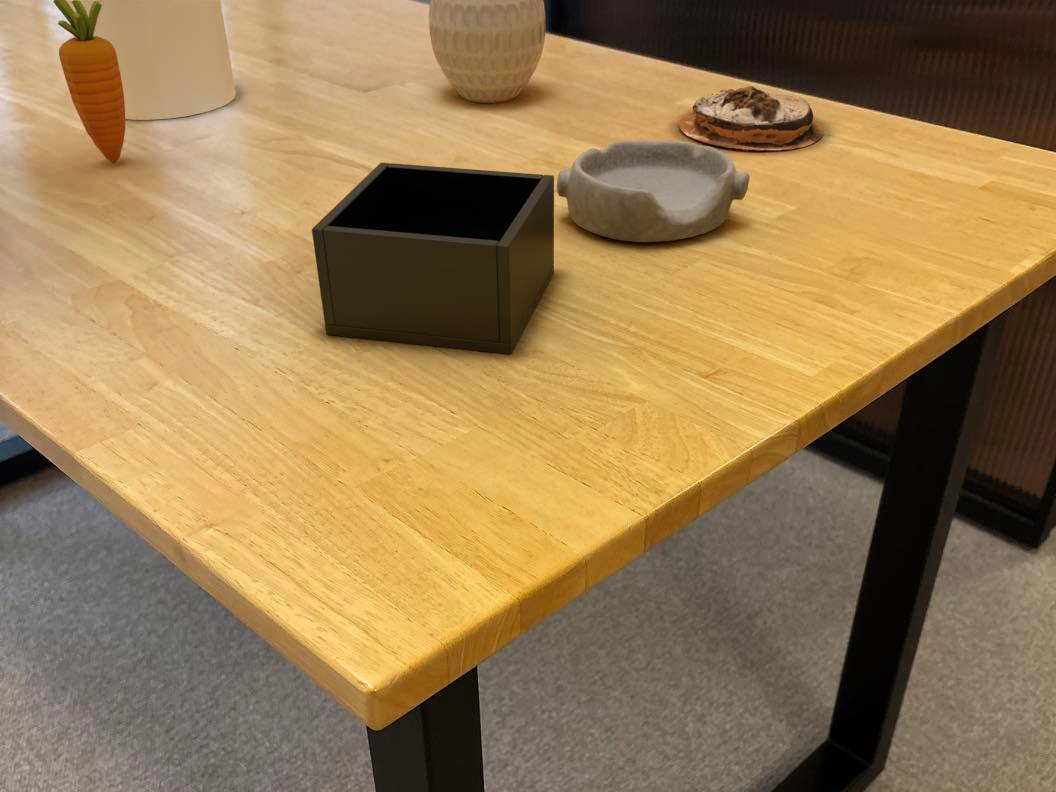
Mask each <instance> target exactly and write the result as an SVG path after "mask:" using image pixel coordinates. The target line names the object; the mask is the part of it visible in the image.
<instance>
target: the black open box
mask: <svg viewBox="0 0 1056 792" xmlns="http://www.w3.org/2000/svg"><path fill="white" fill-rule="evenodd" d="M311 233H312V242H313V249H314V256H315V262H316V271H317V277H318V285H319V291H320V292H319V293H320V299H321V300H320V301H321V306H322V314H323V319H324V320H323V321H324V328H325V330H324V331H325V335H326V336H327V335H328V336H334V337H335V336H336V337H344V338H345V337H346V338H355V339H356V338H357V339H364V340H365V339H366V340H375V341H384V342H392V343H393V342H394V343H401V344H402V343H403V344H410V345H420V346H431V347H441V348H447V349H448V348H449V349H457V350H468V351H477V352H487V353H495V354H504V355H505V354H506V355H512V353H513V351H514V349H515V347H516V346H517V344H518V341H520V338H521V337H522V334H523V332H524V331H525V329H526V327H527V325H528V323H529V322H530V320H531V317H532V316H533V314H534V312H535V311H536V308H537V306H538V304H539V303H540V301H541V298H542V297H543V295H544V293H545V292H546V289H547V287H548V286H549V284H550V282H551V280H552V279H553V277H554V275H555V175H552V174H541V173H540V174H539V173H527V172H514V171H513V172H512V171H498V170H486V169H471V168H460V167H445V166H434V165H432V166H431V165H420V164H408V163H407V164H406V163H390V162H380V163H378V164H377V166H376V167H374V168H373V170H371V171H370V172H369V173H368V174H367V175H366V176H365V177H364V178H363V179H362V180H361V181H360V182H359V183H358V184H356V186H354V188H353V189H352V190H350V191H349V192H348V193H347V194H346V195H345V196H344V197H343V198H342V199H341V200H339V202H338V203H337V204H336V205H335V206H334V207H333V208H332V209H331V210H330V211H329V212H328V213H326V215H324V217H323V218H322V219H320V220H319V221H318V222H317V223H316V224H315V225H314V226H313V227H312V228H311Z"/></svg>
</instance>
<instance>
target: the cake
mask: <svg viewBox="0 0 1056 792" xmlns="http://www.w3.org/2000/svg"><path fill="white" fill-rule="evenodd" d="M719 93H720V94H718V93H716V94H714V92H713V93H711V95H712V96H709V95H710V94H707V96H709V97H703V96H701V98H698V99H697V100H696V101H695V102H694V103H693V106H692V111H690V112H688V113H686V114H684V115H683V116H682V117H681V118H680V119H679V121H678V128H679V129H680V130H681V131H682V133H683V134H685V135H686V136H687V137H690V138H692V139H694V140H697V141H700V142H701V143H703V144H709V145H713V146H717V147H718V146H719V147H723V148H726V149H727V148H728V149H737V150H738V149H739V150H743V151H745V152H748V151H751V152H752V151H783V150H788V151H789V150H795V149H798V148H806V147H808V146H811V145H813V144H815V143H817V142H818V141H819V140H821V139H822V138H823V137H824V132H825V129H824V128H823V126H822V125H821V124H820V123H819V122H818V121H816V120H815V119H814V113H813V109H812V108H811V105H810V103H809V102H808V100H807V99H803V98H802V97H796V96H795V95H793V94H792V95H787V94H786V95H785V94H782V93H772V94H770V92H765V91H763V90H761V89H758V88H757V87H755V86H752V85H747V86H745V87H740V88H738V89H736V90H735V89H733V88H728V89H721V90H719Z"/></svg>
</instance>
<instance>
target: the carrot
mask: <svg viewBox="0 0 1056 792" xmlns="http://www.w3.org/2000/svg"><path fill="white" fill-rule="evenodd" d="M53 3H54V5H55V6H56V7H57V9H58V11H60V12H61V14H62V15H63V16H64V17H65V18H66V20H67V21H66V20H58V22H57V25H58V26H60V27H62V29H64V30H66V31H67V32H68V33H69V34H71V35H72V36H73V35H74V36H75V38H74V36H73V37H71V38H69V39H67V40H66V41H65V42H63V43H62V44H61V45H60V47H58V57H59V61H60V64H61V69H62V71H63V75H64V78H65V81H66V85H67V88H68V91H69V94H70V96H71V100H72V103H73V105H74V109H75V110H76V112H77V114H78V117H79V119H80V121H81V123H82V125H83V127H84V129H85V131H86V133H87V135H88V136H89V138H90V140H91V141H92V142H93V144H94V145H95V147H96V148H97V149H98V150H99V152H100V153H101V154H102V155H103V157H104V158H105V159H106V160H107V161H109V162H110V163H111V164H116V163H117V162H118V160H119V159H120V157H121V153H122V150H123V146H124V143H125V142H124V141H125V134H126V119H125V103H124V92H123V86H122V81H121V75H120V70H119V65H118V60H117V55H116V51H115V48H114V47H113V45H112V44H111V43H110V42H109V41H107V40H105V39H103V38H100V37H98V36H93V34H94V30H95V26H96V22H97V18H98V14H99V12H100V10H101V7H102V4H101V3H99V2H97V1H94V2H93V3H92V5H91V8H90V12H89V17H88V14H87V12H86V10H85V8H84V6H83V5H82V3H81V2H80V1H79V0H74V1H72V4H73V5H74V7H75V9H76V11H77V12H75V13H74V11H73V10H72V8H71V7H70V5H69V4H68V3H67V1H66V0H53ZM71 25H72V26H71Z"/></svg>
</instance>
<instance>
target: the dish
mask: <svg viewBox="0 0 1056 792" xmlns="http://www.w3.org/2000/svg"><path fill="white" fill-rule="evenodd" d="M557 175H558V176H557V180H556V192H557V195H558V196H559V197H562V198H565V199H566V203H567V211H568V215H569V217H570V219H571V220H572V221H573V222H574V223H575V224H576V225H577V226H579V227H581V228H583V229H584V230H586V231H588V232H590V233H593V234H595V235H598V236H601V237H605V238H609V239H613V240H619V241H625V242H626V241H627V242H635V243H656V242H671V241H678V240H682V239H688V238H693V237H697V236H700V235H702V234H706V233H709V232H711V231H714V230H715V229H717V228H718V227H720V226H721V225H722V224H723V223H725V221H726V219H727V217H728V214H729V212H730V209H731V205H732V203H733V201H742V200H743V199H744V198H745V196H746V194H747V191H748V189H749V183H750V174H749V173H748V171H737V169H736V167H735V164H734V161H733V160H732V159H731V158H730V156H729V155H727V154H726V153H724V152H722V151H721V150H718V149H717V148H715V147H711V146H708V145H699V144H696V143H695V142H690V141H683V140H682V141H681V140H616V141H612V142H611V143H610V144H608V145H607V146H606V147H605V148H603V149H598V148H595V147H592V148H589V149H587V150H586V151H583V152H581V153H580V154H579V155H578V156H577V157H576V158H575V160H574V161H573V163H572V165H571V167H570V168H569V169H567V168H564V167H563V168H561V170H560V171H559V172H558V174H557Z"/></svg>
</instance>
